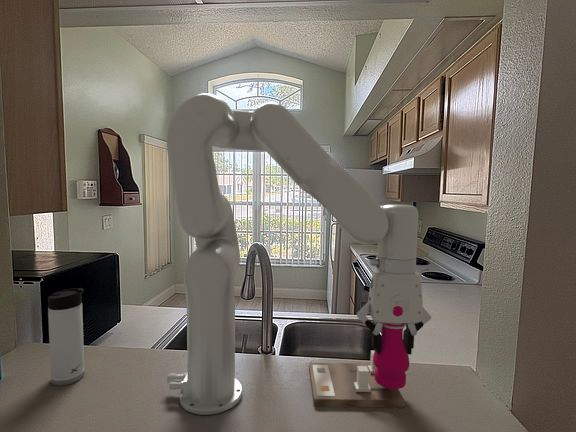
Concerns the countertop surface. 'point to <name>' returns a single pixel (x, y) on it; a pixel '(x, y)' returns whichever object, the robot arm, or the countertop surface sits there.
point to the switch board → (348, 387)
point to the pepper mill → (392, 355)
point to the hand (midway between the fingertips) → (392, 350)
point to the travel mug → (66, 336)
